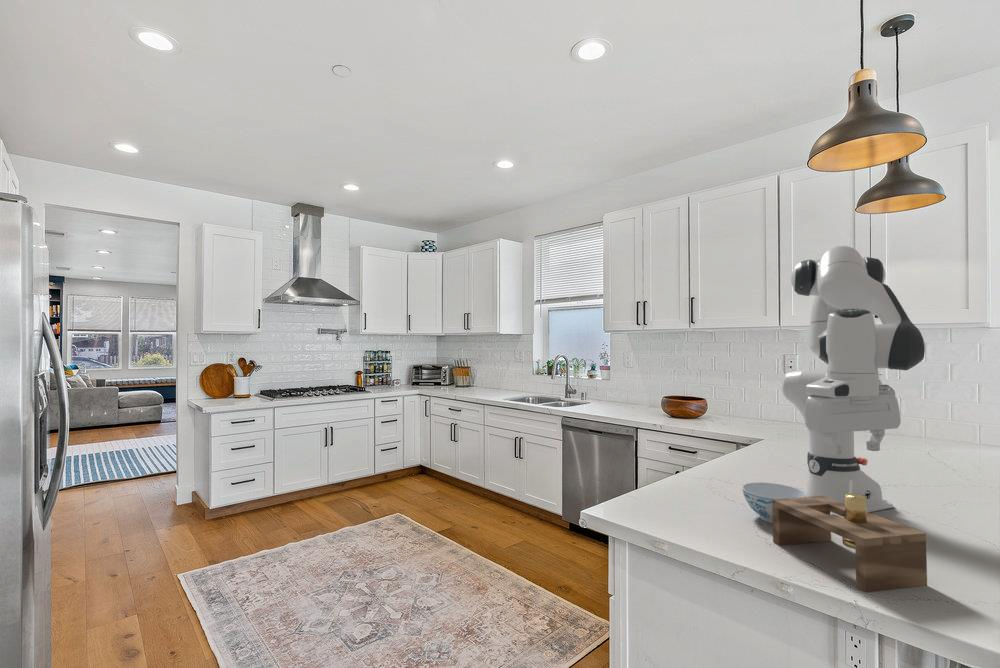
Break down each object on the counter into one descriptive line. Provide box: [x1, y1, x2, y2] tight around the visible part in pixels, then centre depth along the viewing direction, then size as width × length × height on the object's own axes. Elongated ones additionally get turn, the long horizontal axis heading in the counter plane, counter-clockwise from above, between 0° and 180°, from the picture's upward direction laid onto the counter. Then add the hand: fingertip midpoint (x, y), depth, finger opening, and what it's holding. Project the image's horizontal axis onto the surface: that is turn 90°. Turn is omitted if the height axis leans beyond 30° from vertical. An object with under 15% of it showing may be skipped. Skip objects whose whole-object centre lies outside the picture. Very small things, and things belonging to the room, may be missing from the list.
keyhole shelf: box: [772, 496, 928, 593], centre depth 105 cm, size 24×14×10 cm, turn 10°
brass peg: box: [842, 494, 867, 550], centre depth 102 cm, size 5×5×10 cm
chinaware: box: [741, 482, 806, 524], centre depth 130 cm, size 15×15×8 cm
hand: (854, 452), depth 102 cm, fingers open, 8 cm apart
